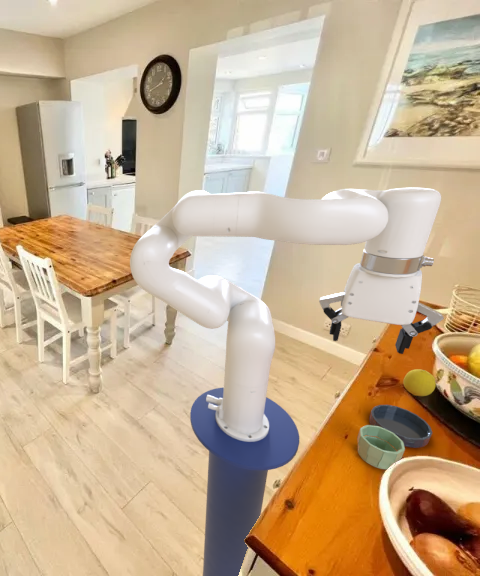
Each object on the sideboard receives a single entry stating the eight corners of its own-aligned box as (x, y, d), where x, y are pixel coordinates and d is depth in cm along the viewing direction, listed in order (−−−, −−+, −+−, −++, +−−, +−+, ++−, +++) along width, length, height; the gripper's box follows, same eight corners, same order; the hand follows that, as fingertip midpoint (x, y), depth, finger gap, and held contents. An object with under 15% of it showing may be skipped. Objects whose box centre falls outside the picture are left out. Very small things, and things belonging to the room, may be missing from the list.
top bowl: (355, 462, 65) (361, 444, 63) (353, 438, 70) (359, 420, 68) (399, 478, 61) (407, 459, 59) (394, 451, 66) (401, 432, 64)
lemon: (410, 385, 82) (419, 361, 79) (436, 400, 77) (446, 374, 74) (393, 390, 81) (402, 366, 78) (418, 405, 76) (428, 379, 73)
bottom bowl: (371, 436, 70) (373, 428, 69) (367, 406, 77) (369, 399, 76) (433, 455, 64) (437, 447, 63) (422, 421, 72) (426, 414, 71)
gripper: (455, 260, 51) (423, 344, 58) (328, 251, 61) (313, 325, 68) (470, 275, 46) (432, 367, 53) (327, 263, 55) (311, 342, 62)
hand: (365, 343), depth 60 cm, fingers open, 9 cm apart
